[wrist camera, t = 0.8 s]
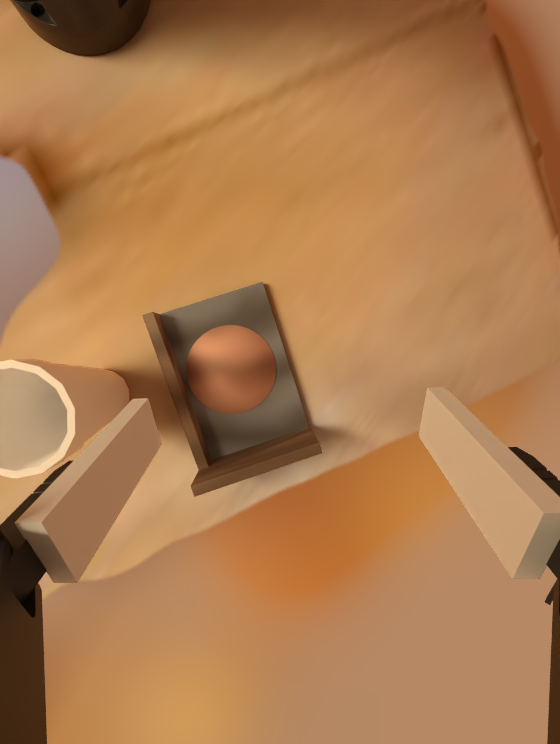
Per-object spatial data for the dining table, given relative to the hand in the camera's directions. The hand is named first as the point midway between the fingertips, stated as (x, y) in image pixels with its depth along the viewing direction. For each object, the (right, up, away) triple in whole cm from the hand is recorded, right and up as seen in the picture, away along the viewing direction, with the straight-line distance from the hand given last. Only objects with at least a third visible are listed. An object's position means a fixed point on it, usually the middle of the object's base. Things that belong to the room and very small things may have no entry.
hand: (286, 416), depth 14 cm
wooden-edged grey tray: (-6, +1, +23) cm, 23 cm away
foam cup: (-22, -1, +22) cm, 31 cm away
